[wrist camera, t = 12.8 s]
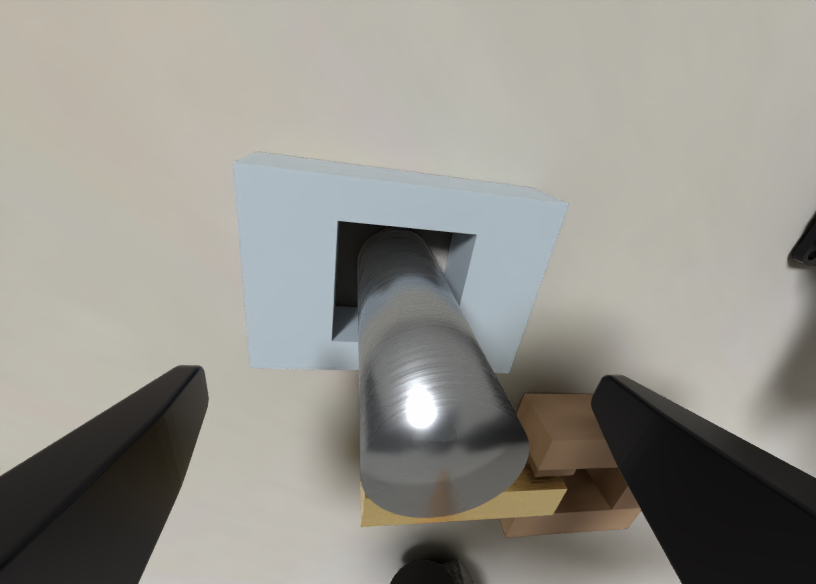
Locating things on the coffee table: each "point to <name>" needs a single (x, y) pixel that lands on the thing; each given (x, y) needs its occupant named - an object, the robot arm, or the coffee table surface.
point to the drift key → (515, 501)
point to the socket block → (572, 468)
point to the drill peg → (426, 390)
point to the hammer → (432, 573)
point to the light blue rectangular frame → (392, 206)
